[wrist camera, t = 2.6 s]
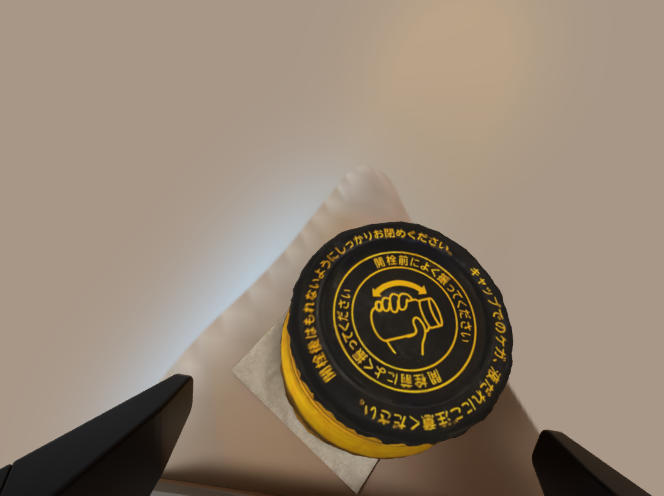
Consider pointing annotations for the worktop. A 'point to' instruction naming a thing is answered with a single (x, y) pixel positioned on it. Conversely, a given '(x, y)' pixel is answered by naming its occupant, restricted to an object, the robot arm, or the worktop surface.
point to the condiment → (383, 348)
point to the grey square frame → (197, 490)
